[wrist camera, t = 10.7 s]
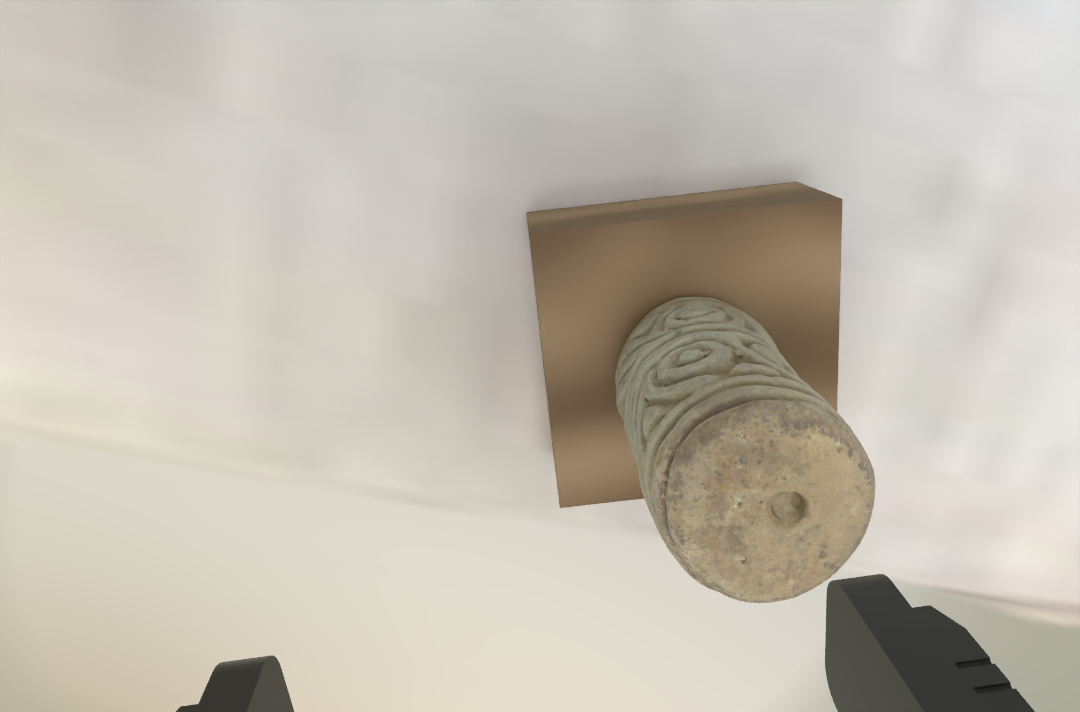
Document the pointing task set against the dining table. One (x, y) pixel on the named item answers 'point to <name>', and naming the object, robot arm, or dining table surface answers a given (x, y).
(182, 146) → the dining table surface
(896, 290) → the dining table surface
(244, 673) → the robot arm
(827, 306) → the walnut block
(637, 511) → the dining table surface
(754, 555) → the carving
